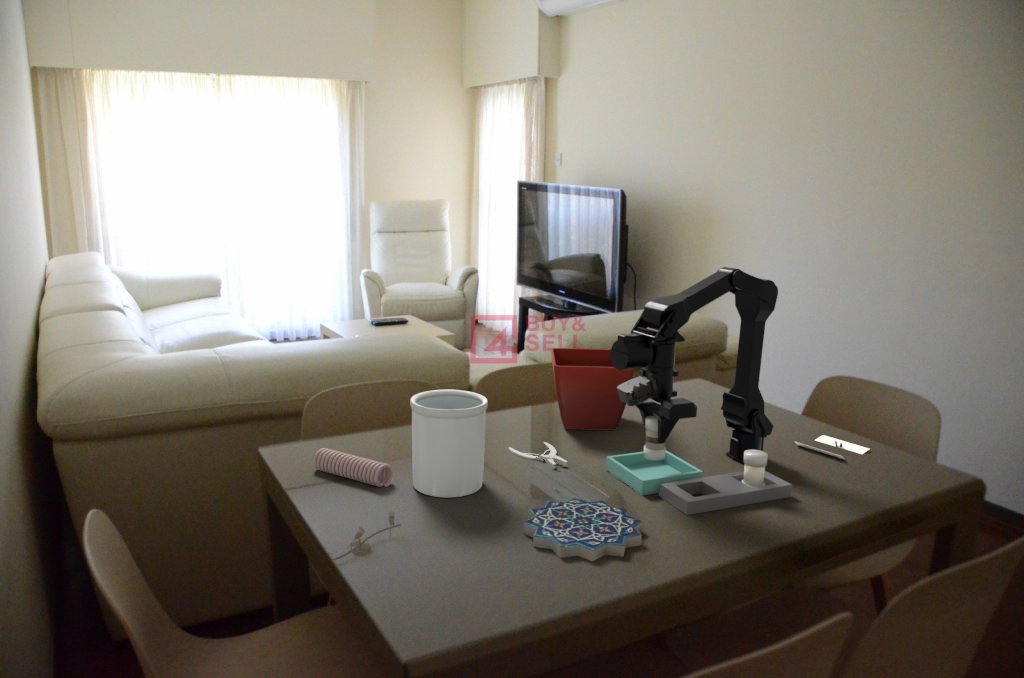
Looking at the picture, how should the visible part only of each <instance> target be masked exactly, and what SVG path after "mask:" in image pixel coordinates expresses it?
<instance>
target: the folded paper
mask: <svg viewBox="0 0 1024 678" xmlns="http://www.w3.org/2000/svg"><path fill="white" fill-rule="evenodd" d="M814 441H816V442H819V443H822V444H825V445H829V446H832V447H834V448H840V449H842V450H845V451H850V452H854V453H857V454H859V455H864V454H865V453H867V452H868V451H870V448H869V447H865V446H862V445H859V444H855V443H851V442H849V441H845V440H842V439H840V438H839V439H838V438H836V437H832V436H828V435H825V434H822V435H820V436H818V437H817V438H816V439H814ZM794 442H795V444H796V445H797V446H799V447H802V448H805V449H807V450H812V451H815V452H818V453H821V454H825V455H828V456H832V457H834V458H838V459H840V460H843V461H845V460H846V459H845V458H844V456H843V455H840V454H837V453H834V452H831V451H828V450H825V449H821V448H818V447H816V446H815V447H814V446H812V445H808V444H806V443H802V442H799V441H795V440H794Z"/></svg>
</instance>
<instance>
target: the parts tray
mask: <svg viewBox="0 0 1024 678" xmlns="http://www.w3.org/2000/svg"><path fill="white" fill-rule="evenodd" d="M605 458H606V462H605V471H606V470H607V472H608V471H609V472H610V473H612V474H613V475H615V476H616V477H617V478H616V477H615V476H614V477H615V478H616V479H618V478H619V479H620V480H622V481H623V482H625V483H626V484H627V485H629V486H630V487H631V488H630V487H629V486H628V487H629V488H630V489H632V488H633V489H634V490H633V489H632V490H633V491H635V492H636V491H637V492H638V493H637V492H636V493H637V494H639V495H640V494H641V495H640V496H646V495H652V494H653V495H654V494H659V493H660V484H664V483H670V482H677V481H683V480H690V479H696V478H703V477H704V471H703V470H701V469H699V468H698V467H696V466H694V465H693V464H691V463H689V462H687V461H685V460H684V459H682V458H681V457H679V456H677V455H675V454H674V453H672V452H670V451H668V450H666V454H665V459H663V460H649V459H646V458H644V457H643V451H639V452H637V451H636V452H630V453H629V452H628V453H623V454H615V455H608V456H606V457H605ZM609 472H608V473H609ZM610 473H609V474H610ZM612 474H611V475H612ZM613 475H612V476H613ZM619 479H618V480H619ZM620 480H619V481H620ZM622 481H621V482H622ZM623 482H622V483H623ZM625 483H624V484H625ZM626 484H625V485H626ZM627 485H626V486H627Z"/></svg>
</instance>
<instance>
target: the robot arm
mask: <svg viewBox="0 0 1024 678" xmlns="http://www.w3.org/2000/svg"><path fill="white" fill-rule="evenodd" d="M727 293H731V294H733V295H734V305H735V308H736V311H737V314H738V315H739V317H740V324H739V325H740V326H739V327H740V328H739V335H738V336H739V337H738V346H737V347H738V348H737V357H736V366H735V374H734V376H735V377H734V384H733V386H732V387H731V388H730V389H729V391H724V392H723V394H722V405H721V407H720V409H721V411H722V416H723V418H725V424H726V427H727V428H730V429H732V432H731V437H730V440H729V441H730V442H729V451H725V455H727V456H728V457H730V458H732V459H734V460H736V461H738V462H740V463H741V464H744V463H743V459H744V451H745V450H751V449H753V450H760V451H764V443H765V438H768V437H767V436H770V435H771V434H772V431H773V428H774V424H773V423H772V422H771V420H770V419H769V418H768V417H767V415H766V414H765V400H764V397H763V395H762V392H761V390H760V388H759V383H760V374H761V367H762V358H763V347H764V340H765V339H764V337H765V329H766V323H767V321H768V319H769V317H771V315H772V313H773V312H774V311H775V308H776V304H777V301H778V300H777V299H778V297H779V296H778V295H779V289H778V286H777V285H776V283H775V282H774V281H773V280H770V279H766V278H759V277H756V276H753V275H752V274H748V273H747V272H745V271H743V270H741V269H739V268H735V267H734V268H733V267H727V266H723V267H720V268H718V269H717V271H716V272H714V273H712V274H710V275H709V276H706V277H705V278H704V279H702V280H700V281H698V282H697V283H695V284H693V285H691V286H689V287H688V288H686V289H684V290H683V291H681V292H679V293H676V294H672V295H665V296H661V297H658V298H655V299H652V300H649V301H648V302H647V303H646V304H645V305H644V306H643V308H644V309H643V311H642V313H641V314H640V316H639V318H638V319H637V320H636V322H635V324H634V325H633V327H632V329H631V330H630V333H629V334H627V333H620V334H619V333H618V334H617V340H615V341H614V342H613V344H612V346H611V348H610V349H611V350H610V358H611V362H612V364H613V366H614V367H615V368H616V369H617V370H627V369H634V368H635V369H639V368H640V369H639V371H638V376H637V377H633V379H630V380H628V381H626V382H624V383H622V384H620V385H618V386H617V390H618V393H619V397H620V400H621V402H624V403H626V405H627V406H629V407H636V408H637V409H638V411H639V412H640V413H639V414H640V416H641V419H642V424H643V426H644V430H645V432H646V429H645V417H647V416H652V415H654V416H655V417H656V418H657V419H658V440H659V443H660V444H663V443H666V441H667V439H668V438H669V436H670V434H671V433H672V431H673V429H674V427H676V424H677V423H678V421H679V420H683V419H690V418H696V417H697V414H698V406H697V405H696V403H695V402H693V401H691V400H689V399H686V398H684V397H680V398H674V397H677V396H678V391H677V390H675V389H674V378H675V377H679V370H676V369H675V364H676V363H675V362H676V360H675V359H676V346H677V343H683V342H685V340H686V338H685V337H684V336H683V335H681V334H680V332H679V330H680V329H682V327H684V326H685V325H686V324H687V323H688V322H689V320H690V318H691V315H693V314H694V313H695V312H698V311H699V310H700V309H702V308H704V307H705V306H708V305H709V304H710V303H713V302H714V301H715V300H717V299H719V298H721V297H722V296H724V295H725V294H727ZM648 328H649V329H648Z"/></svg>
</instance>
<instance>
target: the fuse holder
mask: <svg viewBox="0 0 1024 678" xmlns="http://www.w3.org/2000/svg"><path fill="white" fill-rule="evenodd" d="M743 478H744V470H742V471H737V472H729V473H723V474H717V475H710V476H703V478H696V479H690V480H683V481H677V482H670V483H664V484H660V493H658V494H659V497H660V498H661V499H662V500H664V501H665V502H667V503H668V504H670V505H671V506H673V507H674V508H675V509H677V510H679V511H680V512H682V513H683V514H685V515H686V516H689V515H694V514H701V513H706V512H713V511H718V510H722V509H728V508H729V509H730V508H734V507H739V506H740V507H741V506H746V505H753V504H757V503H763V502H768V501H774V500H775V501H776V500H780V499H786V498H791V497H792V489H793V484H792V483H791V482H790V483H789V482H788V481H786V480H784V479H782V478H780V477H778V476H777V475H774V474H772V473H770V472H768V471H766V470H765V473H764V483H765V486H758V487H752V488H751V487H749V486H747V485H746V484H744V483H742V480H743ZM698 494H701V495H700V496H693V495H698Z"/></svg>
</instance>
